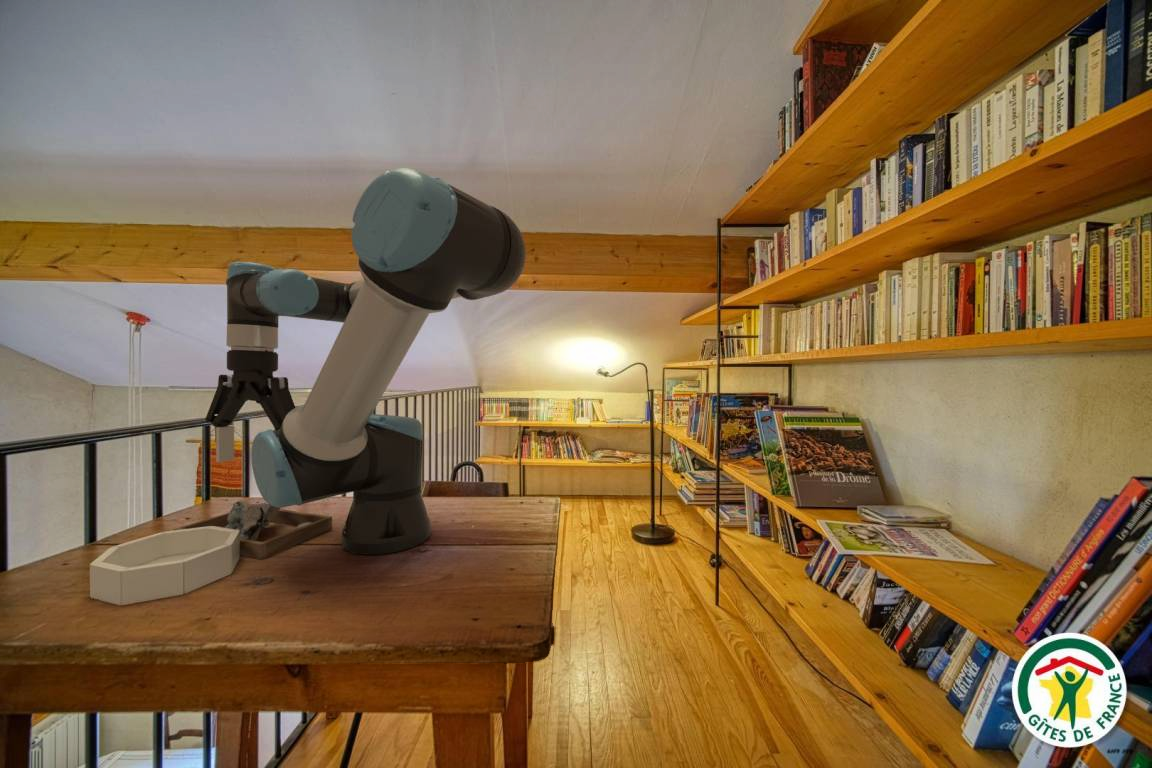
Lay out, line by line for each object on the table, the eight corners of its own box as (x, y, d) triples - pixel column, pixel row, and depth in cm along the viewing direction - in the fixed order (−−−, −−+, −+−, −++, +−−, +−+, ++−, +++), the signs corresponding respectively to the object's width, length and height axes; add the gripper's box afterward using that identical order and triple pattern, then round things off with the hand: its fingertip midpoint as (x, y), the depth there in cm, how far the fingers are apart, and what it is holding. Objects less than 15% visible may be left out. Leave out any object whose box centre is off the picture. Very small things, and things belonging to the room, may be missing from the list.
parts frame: (331, 529, 82) (332, 516, 82) (261, 559, 69) (261, 544, 69) (253, 517, 88) (253, 505, 88) (173, 543, 74) (173, 529, 74)
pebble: (319, 531, 82) (319, 523, 82) (306, 537, 79) (306, 528, 79) (307, 529, 82) (307, 521, 82) (293, 535, 79) (293, 527, 79)
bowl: (260, 561, 68) (260, 533, 68) (144, 611, 54) (143, 576, 54) (193, 548, 72) (193, 522, 72) (68, 592, 58) (68, 559, 58)
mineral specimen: (231, 566, 77) (288, 549, 78) (197, 552, 71) (260, 533, 72) (242, 517, 83) (295, 502, 84) (212, 500, 77) (270, 483, 78)
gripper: (324, 352, 78) (323, 466, 79) (224, 349, 85) (224, 454, 85) (287, 350, 71) (285, 475, 71) (181, 347, 77) (180, 462, 78)
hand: (252, 464), depth 78 cm, fingers open, 13 cm apart
